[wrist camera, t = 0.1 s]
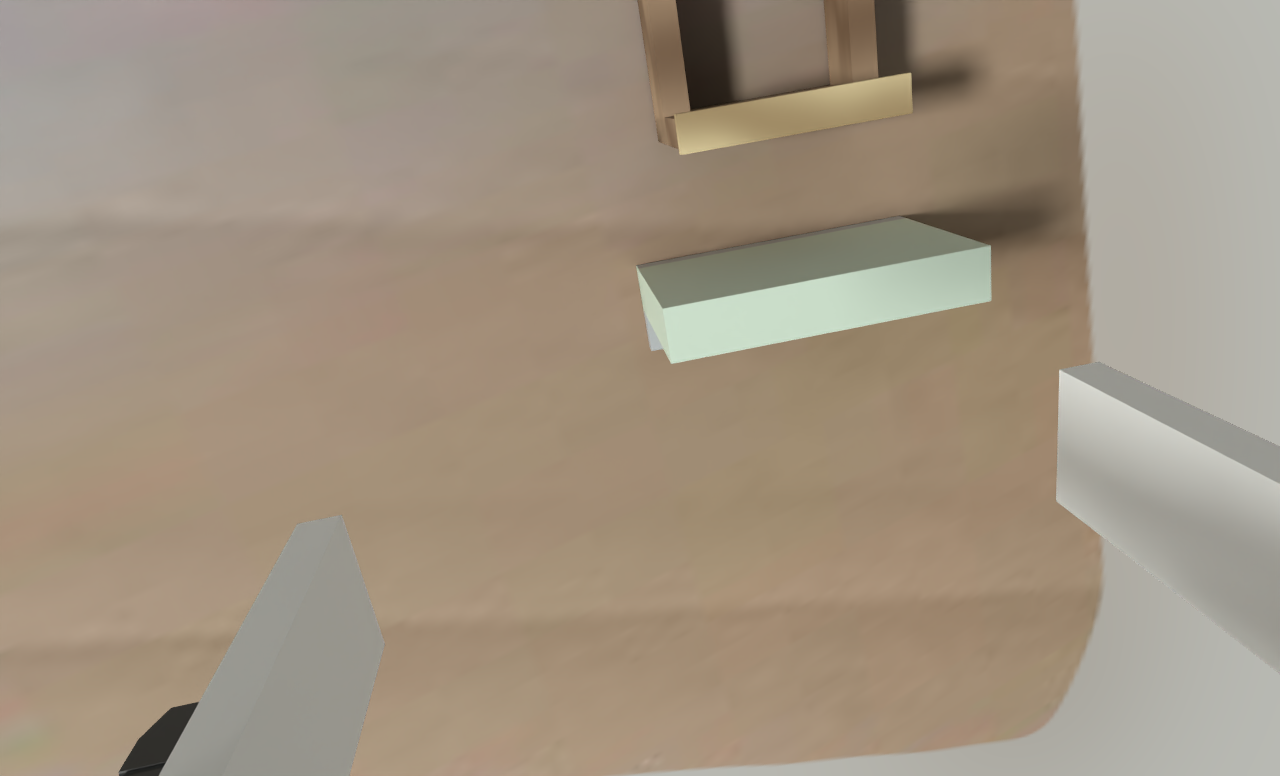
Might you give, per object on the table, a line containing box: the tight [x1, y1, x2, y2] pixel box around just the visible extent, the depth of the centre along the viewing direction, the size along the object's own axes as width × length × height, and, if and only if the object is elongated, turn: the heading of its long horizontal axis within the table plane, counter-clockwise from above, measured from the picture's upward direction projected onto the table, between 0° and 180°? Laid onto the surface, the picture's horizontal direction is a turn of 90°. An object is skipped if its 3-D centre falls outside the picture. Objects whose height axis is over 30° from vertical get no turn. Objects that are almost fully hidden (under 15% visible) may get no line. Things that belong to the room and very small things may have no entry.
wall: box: [636, 216, 991, 364], centre depth 38 cm, size 4×14×9 cm, turn 100°
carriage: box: [638, 0, 913, 155], centre depth 35 cm, size 8×10×6 cm
